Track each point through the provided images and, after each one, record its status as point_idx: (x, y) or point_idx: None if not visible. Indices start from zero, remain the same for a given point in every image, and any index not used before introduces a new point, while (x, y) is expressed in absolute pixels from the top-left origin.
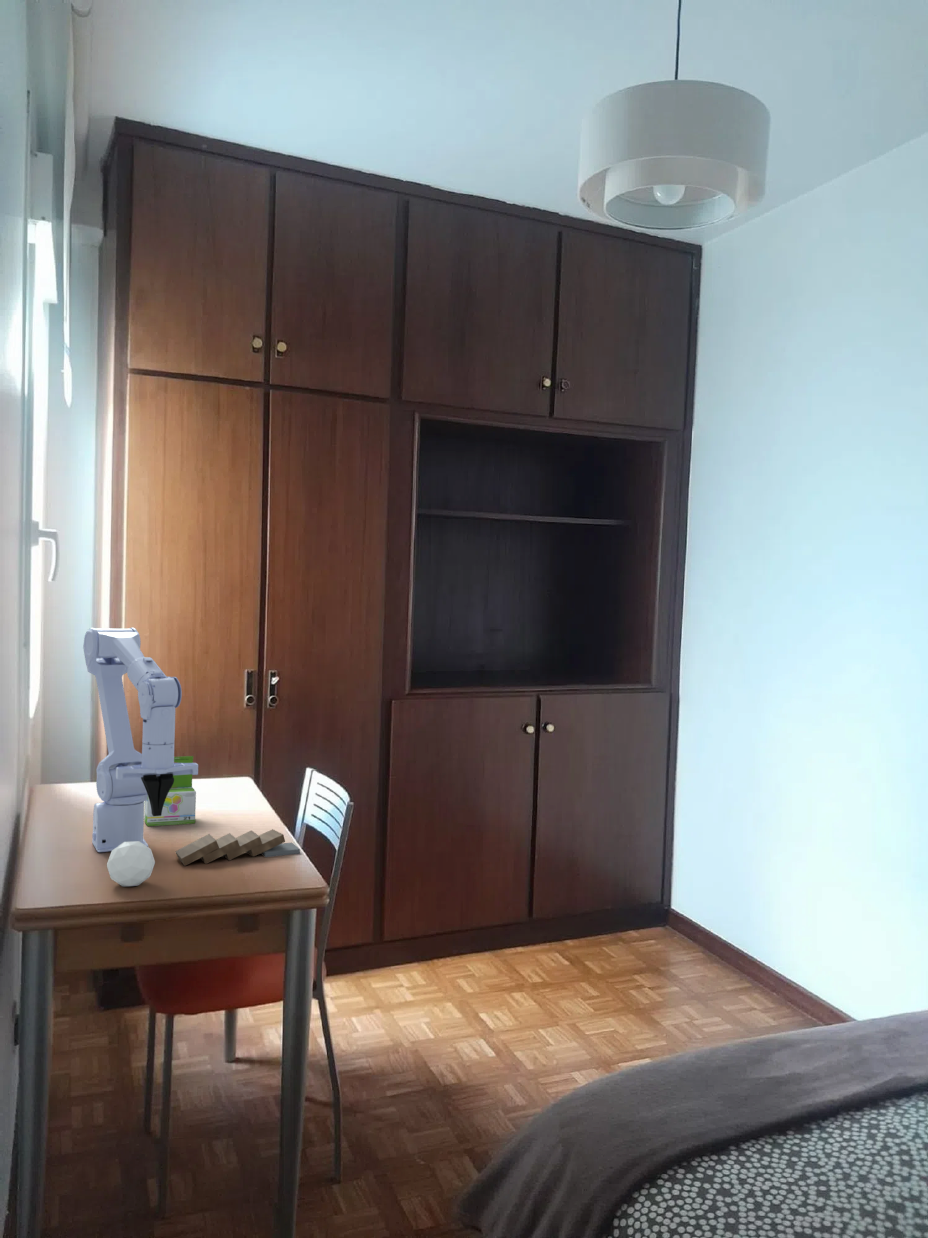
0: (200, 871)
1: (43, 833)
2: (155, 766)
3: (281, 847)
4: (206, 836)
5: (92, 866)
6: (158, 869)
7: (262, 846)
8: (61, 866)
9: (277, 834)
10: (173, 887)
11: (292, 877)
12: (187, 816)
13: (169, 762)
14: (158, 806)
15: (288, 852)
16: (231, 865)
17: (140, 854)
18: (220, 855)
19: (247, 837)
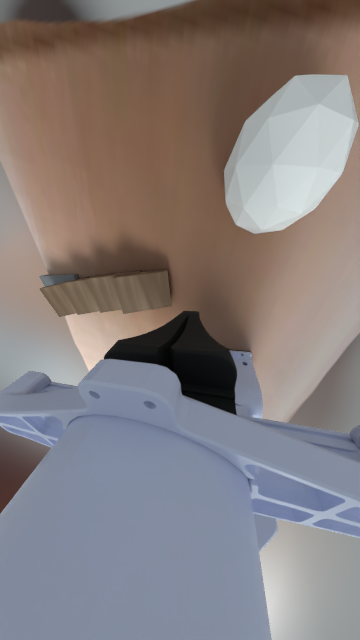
0: (148, 237)
1: (275, 417)
2: (165, 464)
3: None
4: (127, 308)
5: (277, 309)
6: (200, 266)
7: None
8: (314, 323)
9: (48, 295)
10: (196, 144)
11: (21, 156)
12: None
13: (39, 473)
14: (186, 319)
15: (52, 275)
16: (110, 253)
17: (286, 85)
18: (119, 273)
19: (81, 297)
